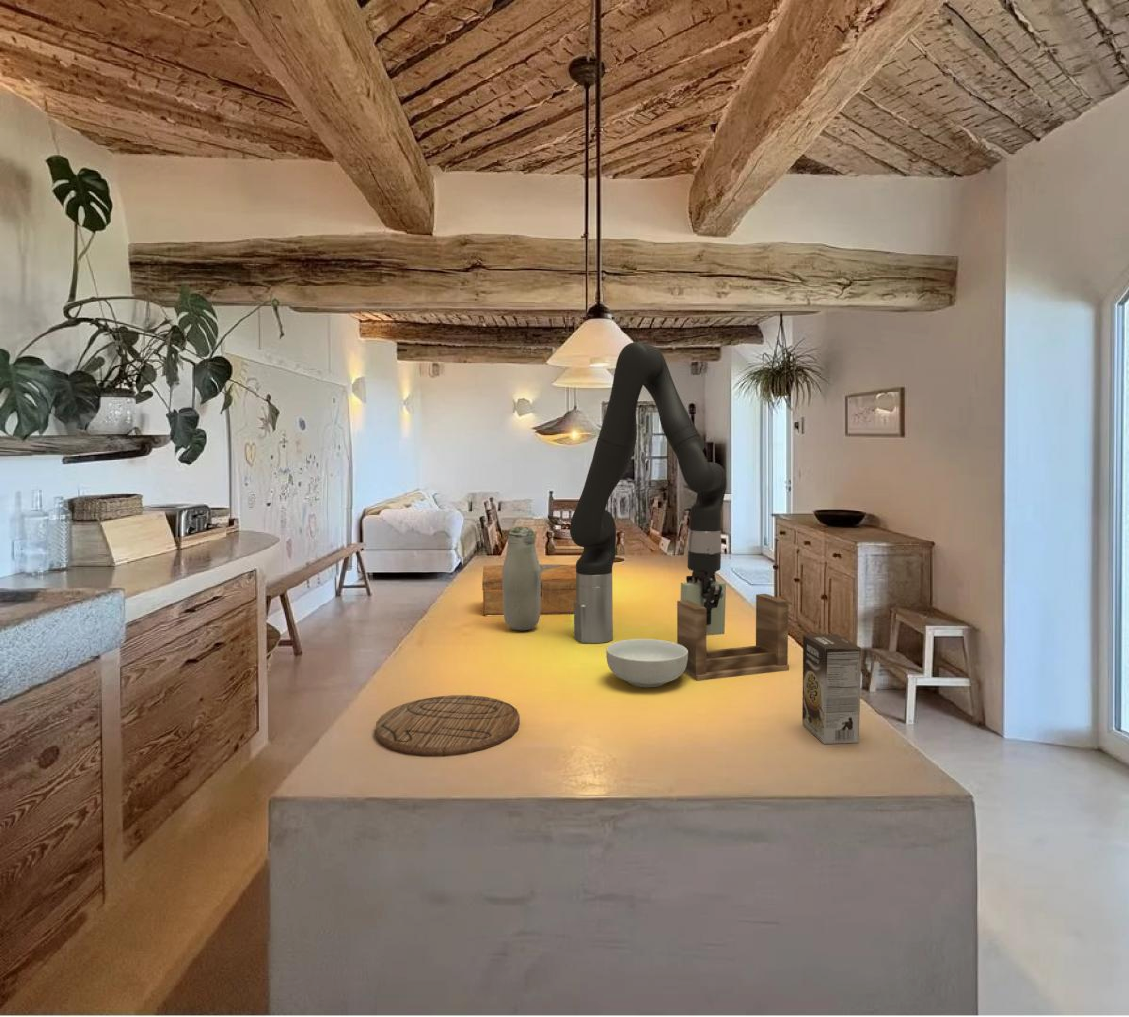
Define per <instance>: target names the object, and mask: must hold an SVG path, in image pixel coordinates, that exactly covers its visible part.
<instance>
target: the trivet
mask: <svg viewBox="0 0 1129 1017" xmlns="http://www.w3.org/2000/svg"><path fill="white" fill-rule="evenodd" d="M520 721H521V719H520V713H519V711H518V709H517V708H516V707H514V706H513V705H511V704H510V703H508V702H506V701H504V700H501V699H498V698H493V697H488V696H480V695H469V694H468V695H467V694H464V695H463V694H461V695H460V694H457V695H456V694H455V695H442V696H433V697H426V698H422V699H421V698H420V699H417V700H413V701H410V702H406V703H402V704H400V705H397V706H395V707H393V708H391V709H389V710H388V711H386V712H385V713H383V714H382V715H381V716H380V717H379V718H378V720H377V721H376V723H375V724H376V725H375V734H376V735H375V737H376V739H377V741H378V742H379V744H380V745H381V746H383V747H385V748H387V749H388V750H390V751H392V752H396V753H400V754H404V755H409V756H417V757H452V756H462V755H467V754H472V753H478V752H482V751H486V750H489V749H491V748H493V747H496V746H499V745H501V744H503V743H505V742H507V741H508V740H510V739H511V738H512V737H513V736H514V735H515V734H516V733H517V732H519V728H520V725H521V724H520V723H521V722H520Z"/></svg>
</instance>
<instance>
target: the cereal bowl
mask: <svg viewBox="0 0 1129 1017" xmlns="http://www.w3.org/2000/svg"><path fill="white" fill-rule="evenodd" d="M605 653H606V657H605V658H606V661H607V662H606V663H607V666H608V668H609V670H610V671H611V672H612V674H614V675H615V676H616V677H618V679H619V678H620V679H621V680H623V681H626V682H627V683H628V684H630V685H631V686H633V687H640V688H656V687H657V688H658V687H661V686H664V685H665V684H666V683H670V682H672V681H674V680H676V679H678V678H679V677H681V675H683V673H684V670H685V668H686V665H687V660H688V650H687V649H686V648H685V647H684V646H682V645H679V644H677V642H673V641H669V640H664V639H655V638H631V639H623V640H618V641H615V642H612V643H610V644H609V645H607V647H606V652H605Z"/></svg>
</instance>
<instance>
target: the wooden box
mask: <svg viewBox="0 0 1129 1017" xmlns="http://www.w3.org/2000/svg"><path fill="white" fill-rule="evenodd" d="M539 564H540V563H539ZM503 565H504V564H501V565H484V566H483V569H482V570H483V571H482V580H481V581H482V600H483V601H482V603H483V604H482V605H483V616H484V615H504V614H503V590H502V570H503ZM540 569H541V613H540V616H546V615H549V616H550V615H551V616H552V615H553V616H555V615H558V616H560V615H574V601H576V563H575V564H574V563H573V564H561V563H560V564H556V563H555V564H549V563H548V564H547V563H546V564H544V563H543V564H542V563H541V564H540Z"/></svg>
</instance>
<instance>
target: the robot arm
mask: <svg viewBox="0 0 1129 1017" xmlns="http://www.w3.org/2000/svg"><path fill="white" fill-rule="evenodd" d="M613 373H614V376H613V378H612V379H613V380H612V386H611V391H610V396H609V399H608V403H607V406H606V410H605V414H604V417H603V421H602V426H601V427H600V431H599V434H598V437H597V440H596V444H595V448H594V451H593V455H592V458H591V463H590V466H589V469H588V473H587V475H586V480H585V482H584V486H583V489H582V492H581V495H580V497H579V500H578V502H577V505H575V506H576V507H575V509H574V511H573V513H572V516H571V519H570V523H569V535H570V537H571V539H572V541H573V543H575V545H577V546H578V547H580V548H581V547H582V548H583V551H582V553H581V555H580V557H579V558H578V559H577V560H576V563H575V564H576V601H574V614H573V629H574V630H573V633H574V634H573V635H574V639H576V640H577V641H579V642H580V643H581V644H585V643H586V644H603V643H607V642H610V641H612V640H613V639H614V629H613V628H614V620H613V618H614V614H613V613H614V612H613V609H614V608H613V606H614V605H613V602H614V601H613V600H614V599H613V565H614V562H615V560H616V547H617V546H616V545H617V544H616V543H617V528H616V527H617V526H616V521H615V518H614V516H613V514H612V513H611V512H610V511H609V510H607V509H606V508H607V505H608V502H609V500H610V497H611V495H612V494H613V492H614V490H616V487H617V486H618V484H619V483H620V481H621V480H622V479H623V477H624V476H625V473H626V472H627V470H628V468H629V466H630V464H631V461H632V458H633V454H634V451H635V448H636V445H637V440H638V438H637V437H638V426H637V425H638V424H637V406H638V401H639V399H640V396H641V392H642V389H643V387H644V388H645V389H646V391H647V392H648V393H649V394H650V396H651V398H652V399H653V402H654V403H655V406H656V409H657V412H658V417H659V421H660V422H659V423H660V425H661V429H662V431H663V434H664V436H665V438H666V439H667V442H668V443H669V445H670V447H671V449H672V450H673V453H674V454H675V455H676V458H677V462H678V465H679V468H680V472H681V474H682V477H683V480H684V482H685V484H686V485H687V487H688V488H689V489H690V490H691V491H692V492H694V493H695V494H696V501H695V503H694V504H693V505H692V506H691V508H690V511H689V533H688V537H687V538H688V540H687V568H688V570H689V571H691V575H686V576H685V580H686V583H690V582H693V583H697V584H698V585H699V587H700V599H701V605H702V607H704V608H706V625H710V624H711V610H712V609H713V608H717V606H718V602H719V598H720V595H721V591H722V586H721V585H717V584H716V581H717V580H716V572H719V571H720V570H721V567H722V566H721V564H722V563H721V562H722V533H721V532H722V531H721V530H722V529H721V528H722V526H721V525H722V524H721V523H722V515H721V514H722V513H721V512H722V507H723V504H724V499H725V494H726V489H727V474H726V471H725V468H724V467H723V466H722V465H720V464H719V463H717V462H713V461H712V462H708V460H707V458H706V456H705V453H704V449H705V442H704V439H703V438H702V436H701V435H700V434H701V433H700V432H699V431H698V429H697V427H696V425H695V423H694V421H693V420H692V418H691V416H690V415H689V413H688V411H687V409H686V407H685V405H684V404H683V401H682V399H681V398H680V395H679V393H678V390H677V387H676V385H675V382H674V380H673V378H672V376H671V372H670V370H669V366H668V364H667V361H666V359H665V357H664V354H663V353H662V351H661V350H660V349H659V348H658V347H656V346H654V345H651V344H647V343H641V342H636V341H635V342H630V343H628V344H626V345H625V346H624V347H623V348H622V349H621V350H620V352H619V354H618V357H617V360H616V363H615V368H614V372H613ZM704 594H708V595H704ZM706 599H707V600H706ZM705 600H706V601H705ZM713 600H714V602H713Z"/></svg>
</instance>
